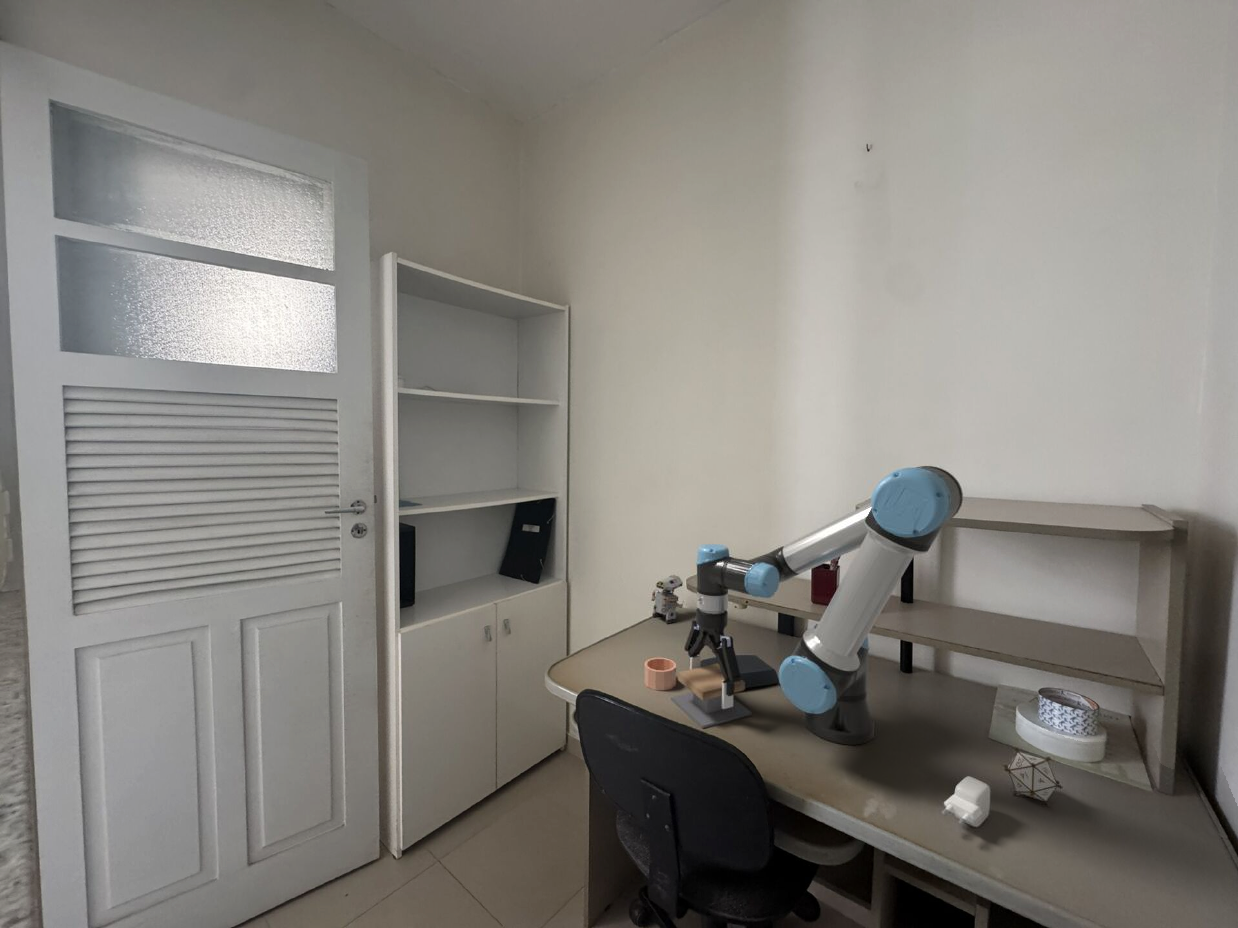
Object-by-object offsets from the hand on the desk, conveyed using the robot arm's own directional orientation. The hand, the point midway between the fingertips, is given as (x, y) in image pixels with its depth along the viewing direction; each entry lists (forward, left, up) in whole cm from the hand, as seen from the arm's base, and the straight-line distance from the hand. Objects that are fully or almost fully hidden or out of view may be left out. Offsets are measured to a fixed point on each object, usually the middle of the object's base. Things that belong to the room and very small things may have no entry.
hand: (710, 693), depth 127 cm
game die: (-51, -36, -3) cm, 63 cm away
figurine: (+57, -22, -3) cm, 61 cm away
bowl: (+16, +5, -3) cm, 17 cm away
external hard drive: (+9, -15, -3) cm, 18 cm away
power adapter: (-50, -18, -4) cm, 53 cm away
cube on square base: (0, 0, -3) cm, 3 cm away
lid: (0, 0, +2) cm, 2 cm away
